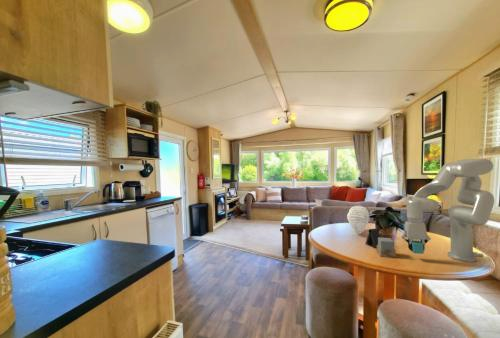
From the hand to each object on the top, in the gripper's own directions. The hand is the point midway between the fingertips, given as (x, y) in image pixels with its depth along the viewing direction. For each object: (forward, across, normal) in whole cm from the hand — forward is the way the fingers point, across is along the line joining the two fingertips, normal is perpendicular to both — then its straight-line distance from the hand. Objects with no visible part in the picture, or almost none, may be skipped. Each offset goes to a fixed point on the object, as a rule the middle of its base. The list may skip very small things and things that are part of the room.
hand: (416, 250), depth 126 cm
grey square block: (+6, +15, -4) cm, 17 cm away
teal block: (+1, 0, 0) cm, 1 cm away
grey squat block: (+1, +15, -4) cm, 15 cm away
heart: (+6, +23, -44) cm, 50 cm away
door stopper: (+6, +18, -19) cm, 27 cm away
